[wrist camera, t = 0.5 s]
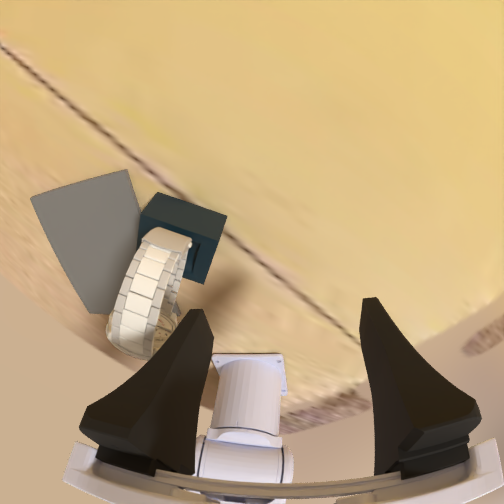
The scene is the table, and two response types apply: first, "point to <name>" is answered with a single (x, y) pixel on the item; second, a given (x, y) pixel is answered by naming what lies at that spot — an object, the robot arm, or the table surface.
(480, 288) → the table surface
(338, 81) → the table surface
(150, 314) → the watch
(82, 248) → the mat
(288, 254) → the table surface
